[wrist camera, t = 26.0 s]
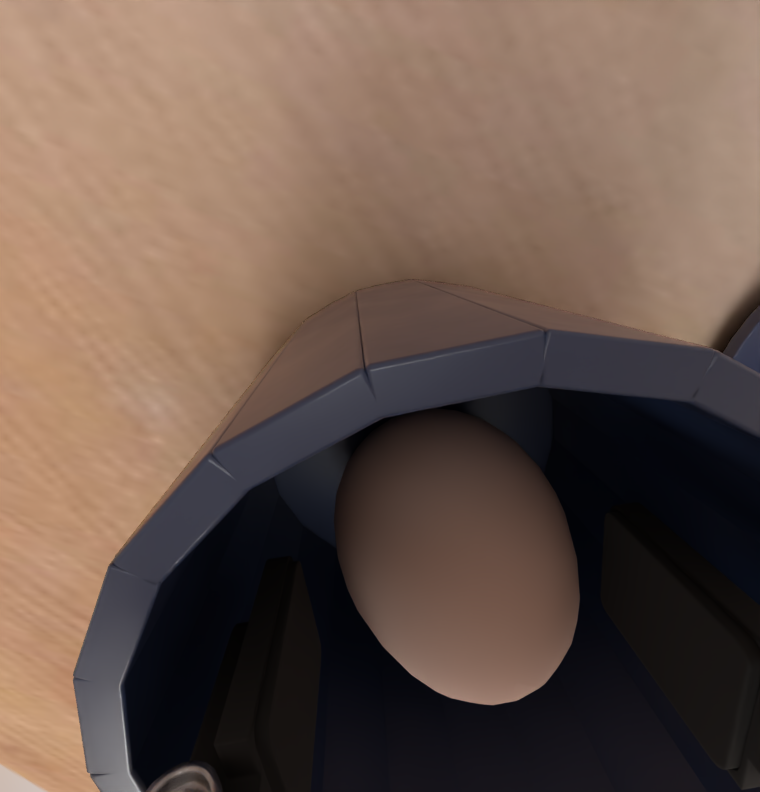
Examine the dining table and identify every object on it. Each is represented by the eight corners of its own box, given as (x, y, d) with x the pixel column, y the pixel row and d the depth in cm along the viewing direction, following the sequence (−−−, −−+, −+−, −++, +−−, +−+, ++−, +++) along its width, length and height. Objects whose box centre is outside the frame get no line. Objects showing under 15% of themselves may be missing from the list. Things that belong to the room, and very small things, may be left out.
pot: (489, 211, 15) (861, 89, 4) (603, 486, 19) (935, 791, 8) (185, 386, 16) (-148, 649, 5) (354, 607, 20) (357, 1005, 10)
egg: (496, 374, 16) (715, 524, 7) (481, 516, 19) (634, 765, 10) (327, 380, 16) (339, 559, 6) (332, 529, 18) (347, 817, 9)
